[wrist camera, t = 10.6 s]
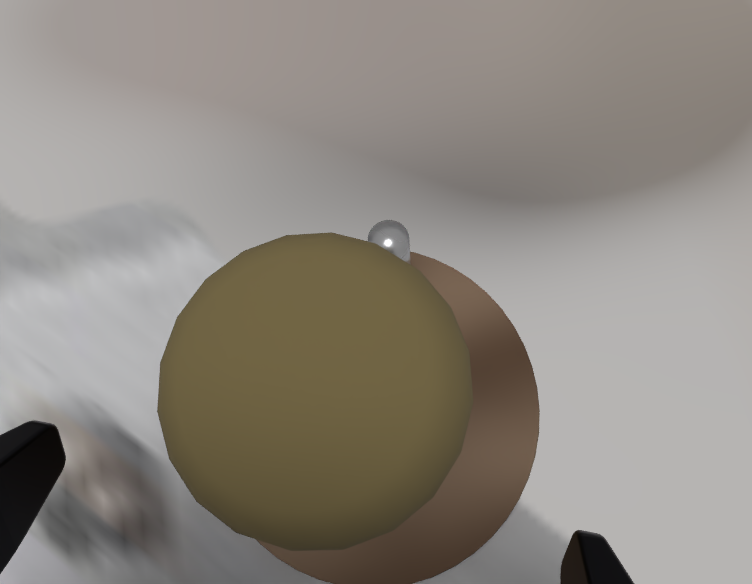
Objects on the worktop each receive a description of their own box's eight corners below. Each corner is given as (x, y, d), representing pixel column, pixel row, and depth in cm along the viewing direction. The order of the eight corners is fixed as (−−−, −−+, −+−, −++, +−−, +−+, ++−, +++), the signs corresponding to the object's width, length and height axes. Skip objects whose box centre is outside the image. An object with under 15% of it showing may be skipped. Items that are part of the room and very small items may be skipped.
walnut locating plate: (600, 476, 18) (653, 487, 14) (299, 648, 18) (262, 713, 14) (431, 203, 21) (434, 146, 17) (167, 344, 20) (103, 321, 16)
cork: (245, 455, 18) (10, 481, 8) (326, 292, 20) (215, 123, 9) (414, 541, 17) (403, 705, 7) (488, 363, 19) (579, 268, 8)
